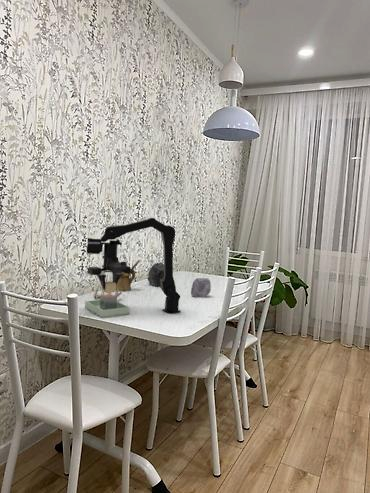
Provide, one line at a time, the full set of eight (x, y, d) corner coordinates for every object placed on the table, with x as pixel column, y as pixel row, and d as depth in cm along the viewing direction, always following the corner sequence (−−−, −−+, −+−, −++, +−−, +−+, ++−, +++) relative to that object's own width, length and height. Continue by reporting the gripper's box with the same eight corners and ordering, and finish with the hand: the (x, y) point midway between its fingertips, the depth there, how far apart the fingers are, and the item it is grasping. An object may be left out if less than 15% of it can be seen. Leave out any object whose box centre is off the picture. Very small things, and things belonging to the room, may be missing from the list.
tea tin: (116, 310, 171) (117, 296, 170) (105, 311, 168) (105, 297, 167) (110, 307, 175) (111, 294, 175) (99, 309, 172) (100, 295, 171)
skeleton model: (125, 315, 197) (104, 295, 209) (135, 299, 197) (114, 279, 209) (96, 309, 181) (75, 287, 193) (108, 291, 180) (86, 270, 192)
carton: (115, 291, 171) (116, 283, 170) (106, 292, 168) (106, 283, 167) (111, 290, 174) (111, 281, 174) (101, 290, 171) (102, 281, 171)
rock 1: (170, 288, 231) (172, 264, 229) (147, 287, 229) (149, 263, 227) (168, 283, 247) (169, 260, 246) (146, 282, 245) (147, 259, 244)
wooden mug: (136, 292, 214) (138, 260, 212) (112, 290, 215) (114, 258, 213) (139, 289, 223) (141, 258, 221) (117, 287, 224) (118, 257, 222)
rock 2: (205, 295, 218) (206, 277, 217) (210, 297, 213) (211, 279, 212) (189, 296, 213) (190, 277, 212) (194, 298, 209) (195, 279, 208)
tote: (129, 314, 168) (129, 307, 168) (101, 318, 160) (102, 310, 160) (110, 305, 182) (111, 298, 182) (84, 307, 174) (85, 301, 174)
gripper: (98, 257, 157) (97, 294, 159) (138, 256, 169) (136, 291, 170) (87, 253, 166) (86, 289, 168) (125, 253, 177) (124, 286, 179)
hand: (108, 289), depth 171 cm, fingers closed on carton, 4 cm apart
